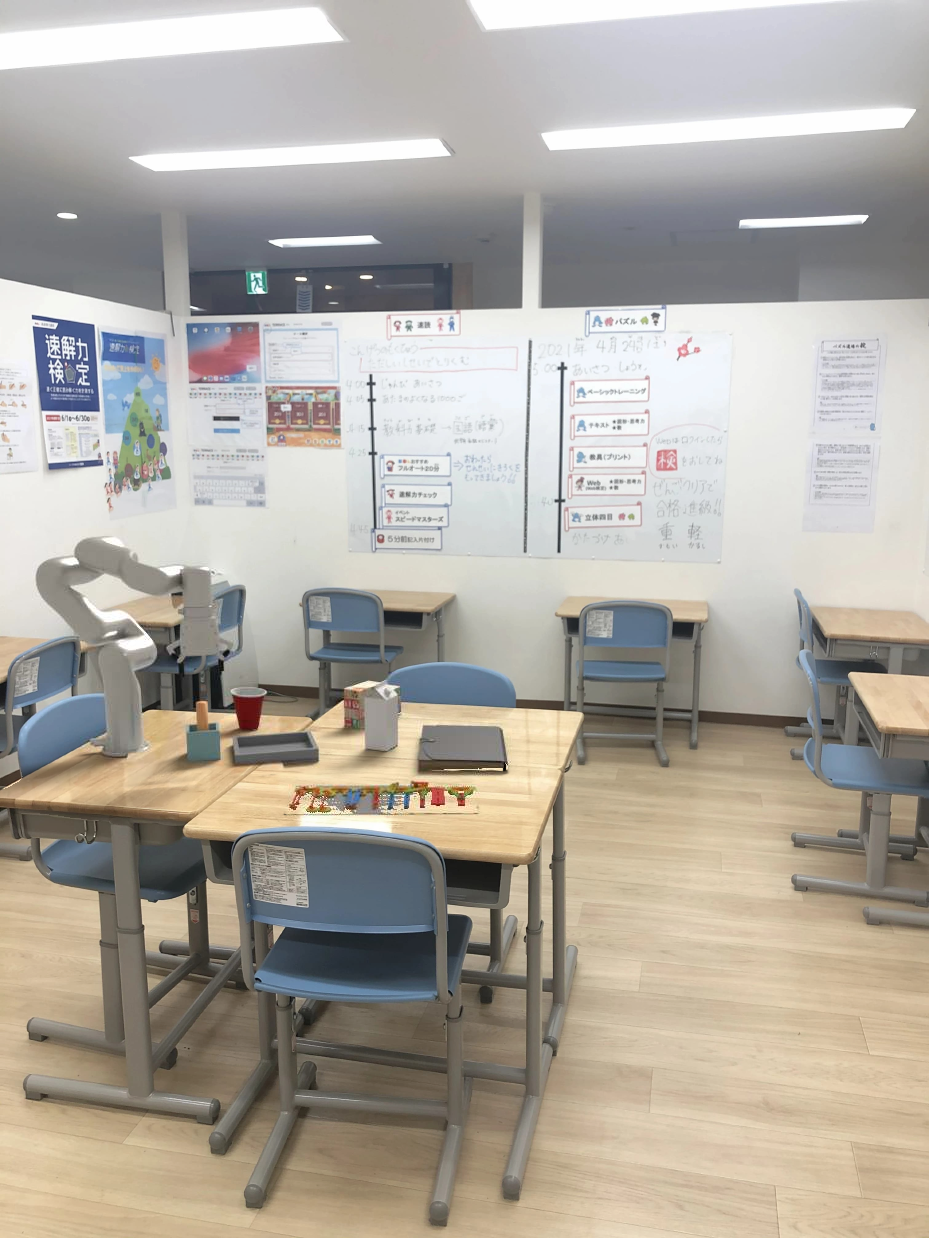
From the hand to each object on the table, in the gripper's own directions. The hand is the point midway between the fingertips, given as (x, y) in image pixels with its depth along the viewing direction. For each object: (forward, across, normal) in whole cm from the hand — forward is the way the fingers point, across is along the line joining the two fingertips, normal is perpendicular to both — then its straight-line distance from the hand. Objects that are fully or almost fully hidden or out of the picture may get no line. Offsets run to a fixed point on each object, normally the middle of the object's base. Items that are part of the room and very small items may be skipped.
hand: (201, 675), depth 248 cm
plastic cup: (+24, +13, +28) cm, 39 cm away
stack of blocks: (+24, +52, +28) cm, 64 cm away
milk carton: (+24, +48, -2) cm, 54 cm away
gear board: (+25, +40, -43) cm, 64 cm away
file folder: (+25, +69, -12) cm, 75 cm away
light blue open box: (+24, -1, 0) cm, 24 cm away
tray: (+24, +18, -1) cm, 30 cm away
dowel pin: (+23, -1, 0) cm, 23 cm away
